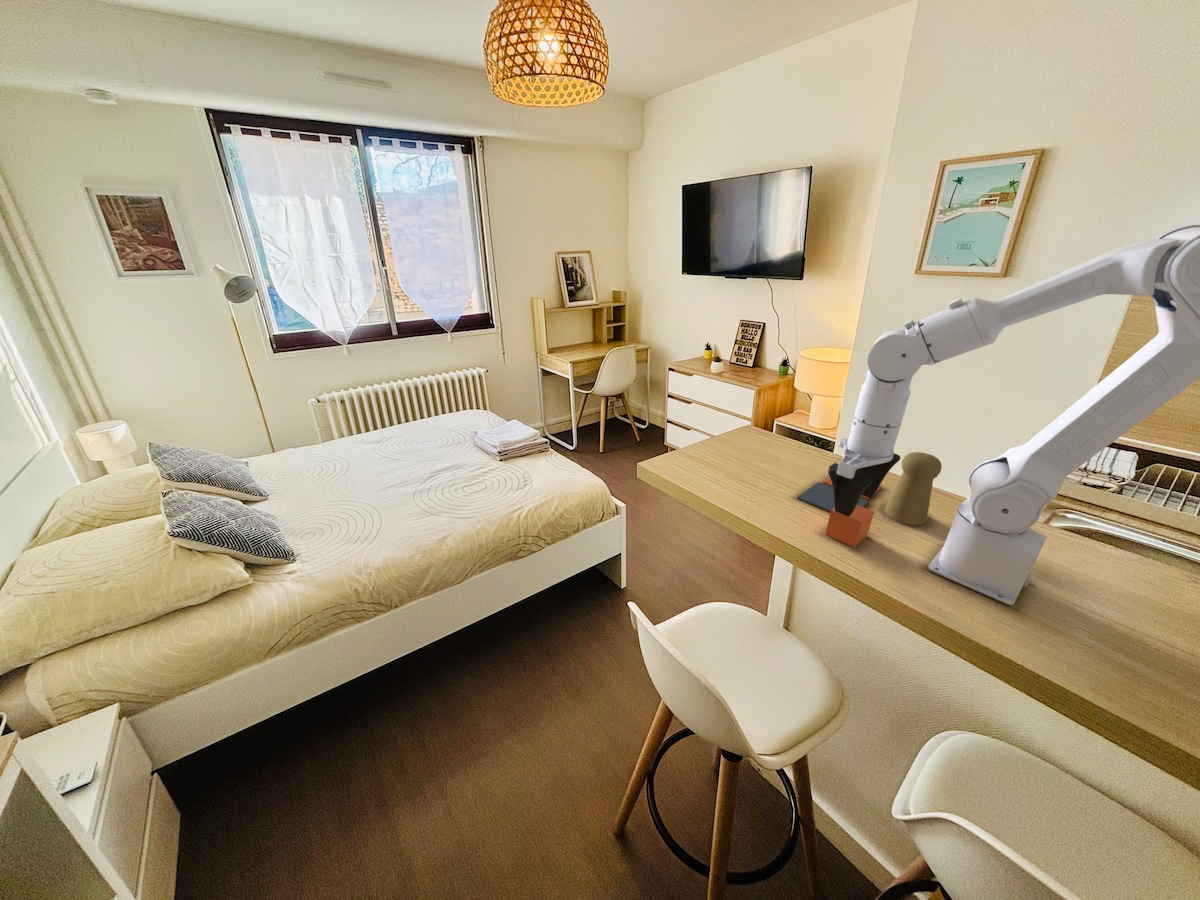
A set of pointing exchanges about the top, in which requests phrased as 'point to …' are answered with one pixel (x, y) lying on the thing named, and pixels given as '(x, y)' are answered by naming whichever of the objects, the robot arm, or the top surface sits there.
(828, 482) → the terracotta mat
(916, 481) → the cork
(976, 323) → the robot arm
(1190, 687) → the top surface
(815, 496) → the slate mat
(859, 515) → the terracotta block
